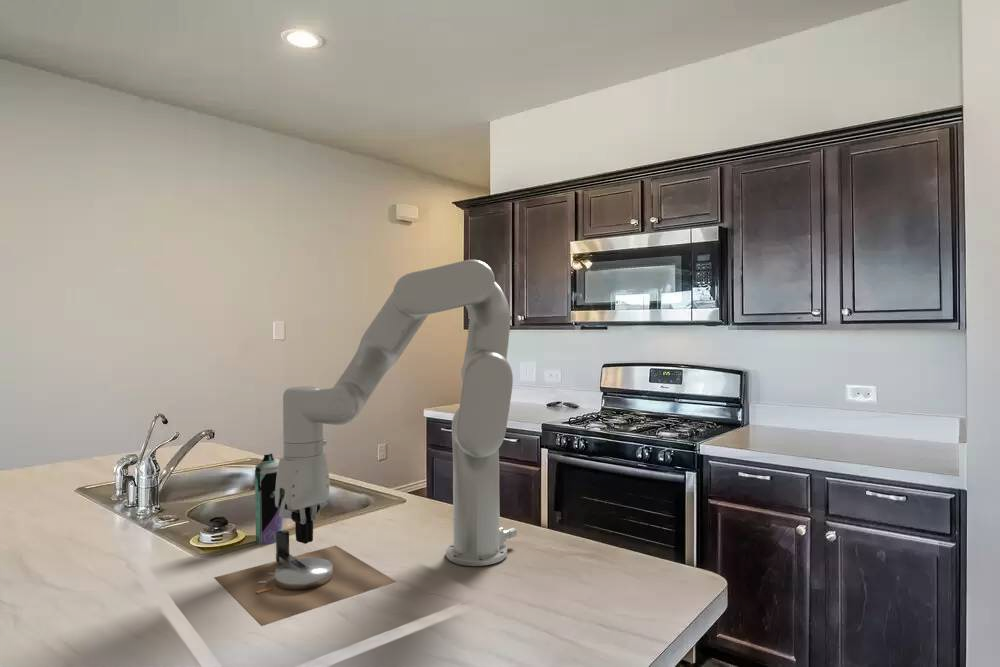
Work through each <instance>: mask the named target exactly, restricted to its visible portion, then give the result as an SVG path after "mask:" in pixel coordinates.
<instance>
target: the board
mask: <svg viewBox="0 0 1000 667" xmlns="http://www.w3.org/2000/svg"><path fill="white" fill-rule="evenodd" d="M293 557H295V558H296V559H297V560H298V559H304V558H322V559H326V560H329V561H330V562H331V563H332V564H333V576H332V578H331V579H330V580H329V581H328V582H326V583H324V584H322V585H319V586H316V587H313V588H308V589H301V590H289V589H283V588H280V587H278V586H277V585H276V584H275V570H276V569H277V568H278V567H279V566H281V565H282V564H280V563H278V562H276V560H275V561H271V562H267V563H264V564H261V565H257V566H256V565H255V566H253V567H249V568H245V569H242V570H241V569H240V570H237V571H234V572H230V573H226V574H222V575H218V576H214V579H215V580H216V581H217V582H218V583H219V584H220V585H221V586H222V587H223V588H224V589H225V591H227V592H228V593H229V595H231V597H233V599H234V600H236V601H237V603H239V605H240V606H241V607H243V609H244V610H246V612H247V613H248V614H249V615H250V616H251V617H252V618H253V619H254V620H255V621H256V622H257V623H258V624H259V625H260V627H261V626H262V627H263V626H267V625H269V624H272V623H275V622H278V621H281V620H284V619H287V618H290V617H293V616H297V615H300V614H302V613H305V612H308V611H311V610H314V609H317V608H320V607H323V606H326V605H330V604H333V603H335V602H339V601H342V600H344V599H348V598H350V597H351V598H352V597H354V596H357V595H360V594H363V593H366V592H369V591H372V590H375V589H378V588H381V587H385V586H388V585H391V584H394V583H396V582H397V581H396V580H395V579H393V578H392V577H390V576H388V575H387V574H385V573H383V572H381V571H380V570H378V569H377V568H374V567H373V566H372V565H370V564H368V563H366V562H365V561H363V560H361V559H360V558H358V557H356V556H354V555H352V554H351V553H349V552H348V551H346V550H344V549H343V548H342V547H340V546H337V545H332V546H329V547H325V548H321V549H318V550H314V551H309V552H305V553H302V554H297V555H293Z"/></svg>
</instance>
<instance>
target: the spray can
mask: <svg viewBox="0 0 1000 667" xmlns="http://www.w3.org/2000/svg"><path fill="white" fill-rule="evenodd" d="M278 464H279V461H276V459H275V458H274V456H273V453H268V454H264V455H263V458H262V459H261V461H260V462H259V463H258V464H256V465H254V466H255V467H254V468H255V469H254V487H255V488H254V490H255V491H254V493H255V494H254V495H255V496H254V497H255V499H254V500H255V504H254V506H255V507H254V508H255V543H257V544H259V545H271V544H276V533H277V532H279V531H284V518H282V517H279V513H280V508H277V507H276V505H275V487H276V476H277V469H278Z"/></svg>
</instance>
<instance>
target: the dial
mask: <svg viewBox="0 0 1000 667" xmlns="http://www.w3.org/2000/svg"><path fill="white" fill-rule="evenodd" d="M275 561H276V562H278V563H280V564H282V565H281V566H279V567H278V568H277V569H276V570H275V584H276V585H277V586H278V587H280V588H283V589H289V590H301V589H308V588H313V587H316V586H319V585H322V584H324V583H326V582H328V581H329V580H330V579H331V578H332V576H333V564H332V563H331V562H330V561H329V560H326V559H322V558H304V559H298V560H297V559H296V558H295V557H294V555H292V554H290V531H289V530H283V531H279V532H277V533H276V543H275Z"/></svg>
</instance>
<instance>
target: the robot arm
mask: <svg viewBox="0 0 1000 667" xmlns="http://www.w3.org/2000/svg"><path fill="white" fill-rule="evenodd" d="M464 307H465V308H466V310H467V313H468V321H469V322H468V329H467V338H466V339H467V340H466V346H465V354H464V357H463V358H464V359H463V363H462V366H461V370H460V374H461V376H460V377H461V381H462V386H461V394H460V401H459V407H458V409H456V411H455V413H454V415H453V417H452V420H451V441H452V474H453V475H452V476H453V477H452V478H453V479H452V491H453V492H452V496H453V498H452V499H453V500H452V502H453V503H452V505H453V506H452V507H453V508H452V510H453V516H452V517H453V519H452V520H453V522H452V523H453V543H451V544H450V545H448V547H447V548H446V550H445V555H446V558H447V559H448V560H449V561H450V562H452V563H453V564H456V565H460V566H466V567H484V566H489V565H494V564H497V563H499V562H502V561H503V560H505V559H506V558H507V556H508V548H507V546H506V545H505V543H506V541H507V540H509V539H513V538H515V537H517V535H518V532H517V529H516V528H515V527H511V528H508V529H506V530H504V528H503V527H500V525H501V524H500V522H501V521H500V519H501V518H500V509H501V508H500V450H499V449H500V448H501V446H502V445H503V442H504V441H505V437H506V432H507V426H508V419H509V413H510V408H511V398H512V395H513V394H512V392H513V382H514V378H513V377H514V376H513V371H512V367H511V365H510V363H509V362H508V360H507V357H508V351H509V350H508V349H509V339H510V333H511V332H510V331H511V330H510V329H511V310H510V306H509V302H508V299H507V297H506V295H505V293H504V292H503V289H502V288H501V286H500V285H499V284H498V283H497V282H496V277H495V273H494V272H493V269H492V268H491V267H490V266H489V265H488V264H487V263H486V262H484V261H482V260H479V259H466V260H461V261H457V262H453V263H450V264H444V265H441V266H440V265H439V266H437V267H432V268H427V269H423V270H418V271H413V272H409V273H406V274H404V275H402V276H401V277H400V278H398V279H397V281H396V282H395V284H394V287H393V290H392V291H391V294H390V295H389V296H388V298H387V299H386V301H385V302H384V304H383V305H382V307H381V308H380V310H379V311H378V313H377V314H376V315H375V317H374V319H373V320H372V322H371V323H370V324H369V326H368V327H367V329H366V330H365V331H364V334H363V336H362V337H361V339H360V341H359V344H358V347H357V350H356V352H355V354H354V356H353V358H352V359H351V361H350V362H349V364H348V365H347V367H346V369H345V370H343V373H342V374H341V376H339V379H338V380H337V381H336V383H335V384H334V386H333V387H330V388H323V389H321V388H319V387H318V386H312V385H310V386H309V385H307V386H306V385H305V386H302V385H301V386H300V385H299V386H293V387H289V388H286V389H285V390H284V391H283V395H282V420H283V421H282V428H283V434H282V435H283V436H282V437H283V438H282V439H283V440H282V441H283V442H282V443H283V444H282V445H283V457H280V458H279V460H278V463H279V464H278V469H277V476H276V487H275V505H276V507H277V508H280V513H279V517H282V518H283V519H290V520H292V522H294V523H295V524H294V525H295V540H296V542H297V543H301V544H304V545H306V544H309V543H312V542H313V541H314V521H316V519H317V514H318V513H319V511H320V509H323V508H324V507H326V506H327V505H328V499H329V497H330V474H329V473H330V472H329V467H328V465H329V464H328V461H327V457H326V453H325V452H324V447H325V446H326V445H327V440H326V439H325V438H324V424H325V425H332V426H344V425H348V424H350V423H352V422H353V421H354V420H356V418H358V417H359V414H360V412H361V411H362V409H363V408H364V406H365V405H366V404H367V402H368V400H369V399H370V398H371V396H372V394H373V393H374V391H375V390H376V388H377V387H378V385H379V384H380V382H381V381H382V380H383V378H384V377H385V376H386V374H387V372H388V371H389V370H390V369H391V368H392V367H393V366H394V365H395V364H396V363H397V362H398V360H399V359H400V358H401V356H402V355H403V354H404V351H405V350H406V349H407V346H408V345H409V344H410V343H411V341H412V339H413V338H414V336H416V334H417V332H418V330H420V327H421V326H422V325H423V323H425V320H426V319H427V317H428V315H432V314H436V313H442V312H445V311H450V310H455V309H458V308H464Z"/></svg>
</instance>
